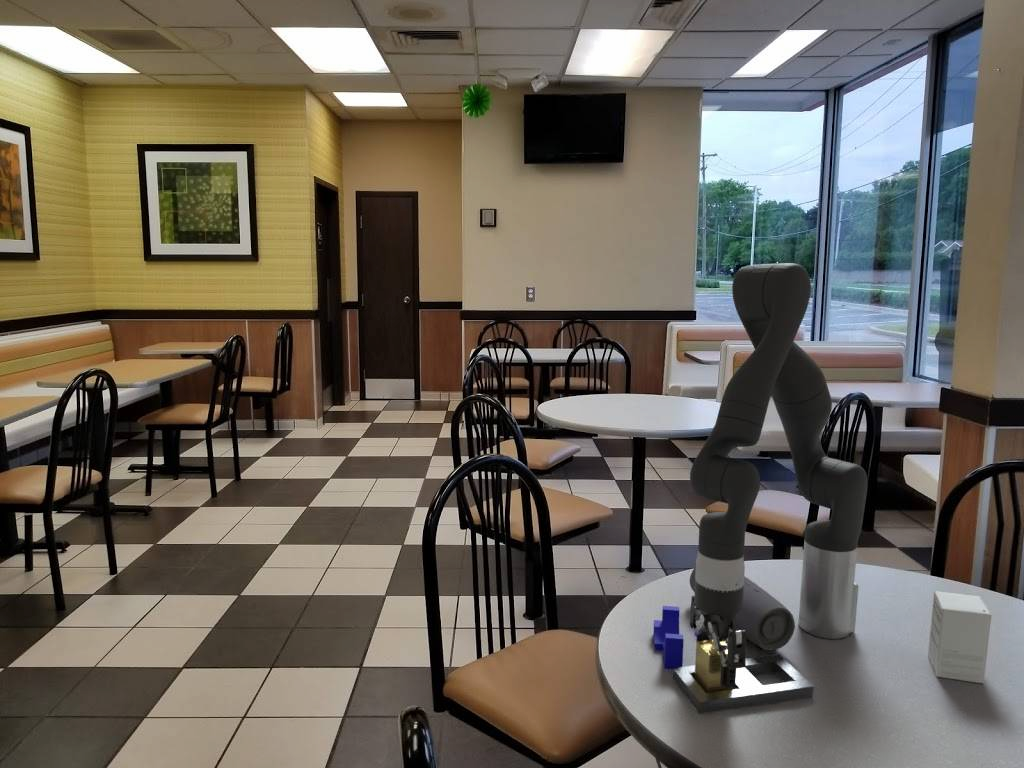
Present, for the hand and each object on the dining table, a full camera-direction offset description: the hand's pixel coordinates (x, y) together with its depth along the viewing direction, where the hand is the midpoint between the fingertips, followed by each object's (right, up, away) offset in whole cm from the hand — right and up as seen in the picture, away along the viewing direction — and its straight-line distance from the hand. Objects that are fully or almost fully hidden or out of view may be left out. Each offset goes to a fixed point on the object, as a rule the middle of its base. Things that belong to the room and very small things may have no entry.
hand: (714, 671), depth 123 cm
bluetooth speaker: (+10, 0, +22) cm, 25 cm away
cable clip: (-5, -2, +13) cm, 14 cm away
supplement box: (+44, -3, +7) cm, 44 cm away
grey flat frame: (+5, -3, +2) cm, 6 cm away
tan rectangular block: (0, -4, +1) cm, 4 cm away
